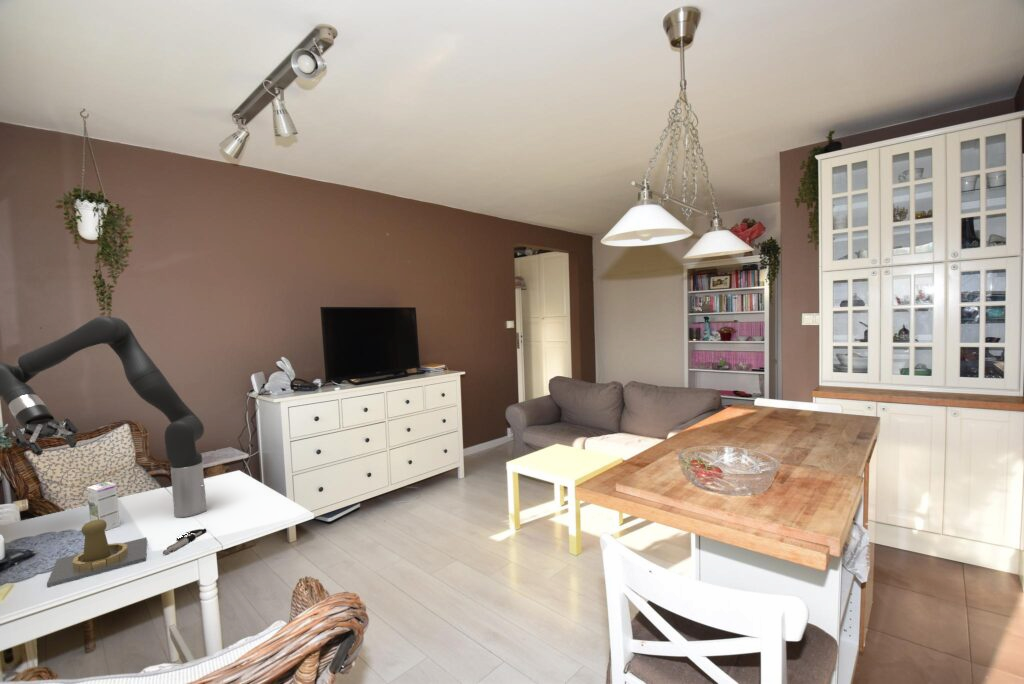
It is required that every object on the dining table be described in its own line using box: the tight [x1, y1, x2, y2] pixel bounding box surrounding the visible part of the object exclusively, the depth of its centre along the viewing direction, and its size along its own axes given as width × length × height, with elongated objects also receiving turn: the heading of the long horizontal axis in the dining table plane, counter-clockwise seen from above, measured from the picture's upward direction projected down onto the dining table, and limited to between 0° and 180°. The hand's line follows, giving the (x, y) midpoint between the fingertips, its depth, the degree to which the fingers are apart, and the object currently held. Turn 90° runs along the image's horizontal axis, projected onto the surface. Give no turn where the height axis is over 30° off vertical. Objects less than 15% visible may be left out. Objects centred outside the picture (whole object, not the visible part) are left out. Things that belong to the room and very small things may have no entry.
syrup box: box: [86, 481, 121, 532], centre depth 156 cm, size 6×6×14 cm
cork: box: [81, 519, 111, 562], centre depth 132 cm, size 6×6×11 cm
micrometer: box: [162, 528, 207, 556], centre depth 144 cm, size 15×7×2 cm, turn 170°
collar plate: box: [46, 537, 148, 588], centre depth 133 cm, size 20×16×2 cm
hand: (57, 449), depth 146 cm, fingers open, 8 cm apart
